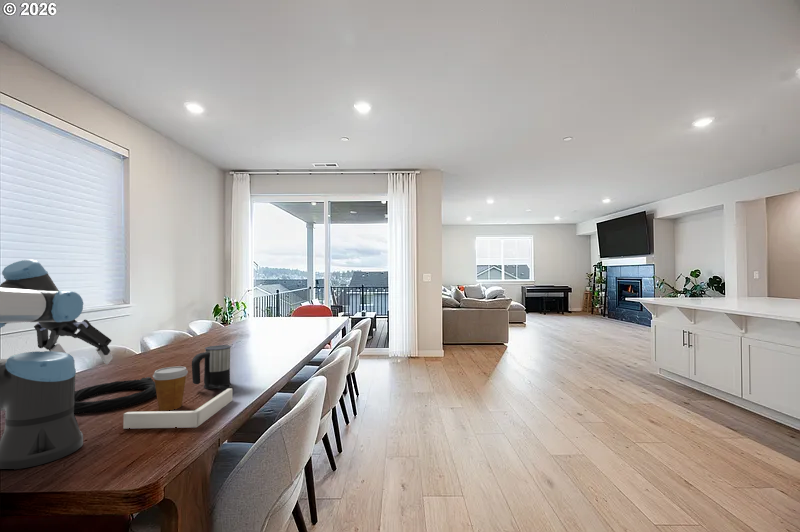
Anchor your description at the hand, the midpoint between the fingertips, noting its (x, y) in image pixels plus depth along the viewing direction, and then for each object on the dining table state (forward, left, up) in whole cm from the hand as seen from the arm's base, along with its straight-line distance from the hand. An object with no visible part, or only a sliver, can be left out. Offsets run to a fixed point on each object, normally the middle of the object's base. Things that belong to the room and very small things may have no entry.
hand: (87, 361), depth 115 cm
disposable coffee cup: (+1, -25, -16) cm, 30 cm away
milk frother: (+21, -31, -16) cm, 41 cm away
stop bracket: (-4, -32, -15) cm, 36 cm away
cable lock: (+11, 0, -16) cm, 19 cm away
